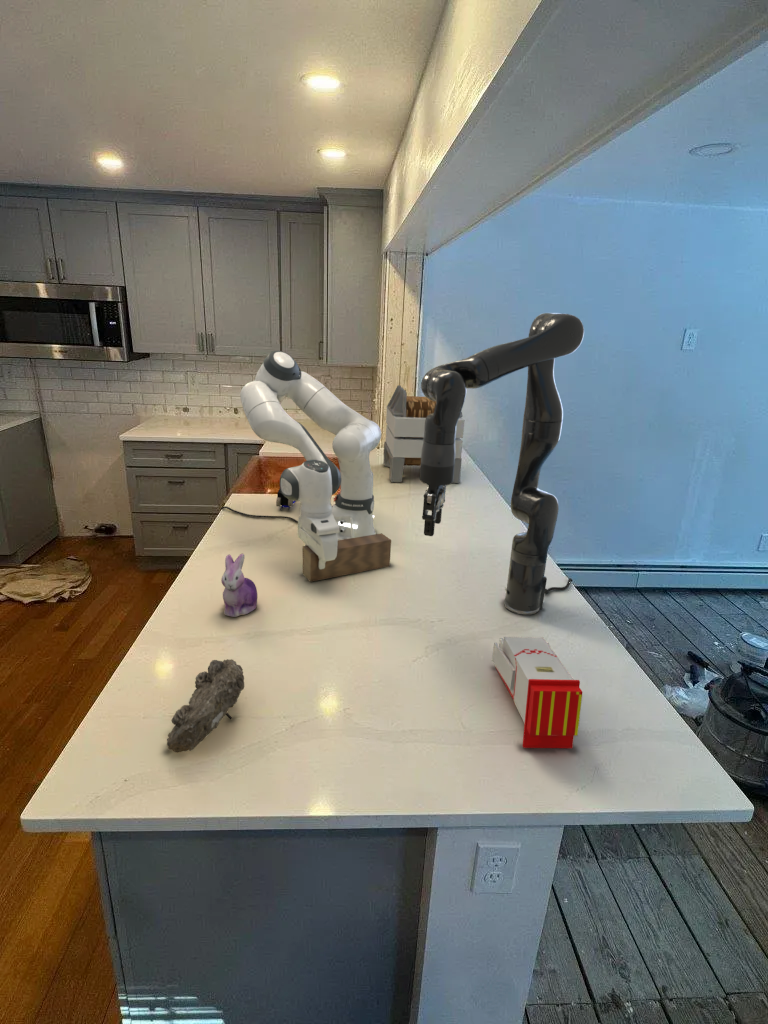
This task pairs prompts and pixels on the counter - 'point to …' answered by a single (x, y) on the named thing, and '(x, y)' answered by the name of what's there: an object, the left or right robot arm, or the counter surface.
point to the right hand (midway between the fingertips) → (432, 528)
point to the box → (349, 557)
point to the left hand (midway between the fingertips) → (315, 563)
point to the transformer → (412, 433)
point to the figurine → (237, 589)
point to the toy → (539, 691)
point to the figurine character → (283, 501)
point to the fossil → (206, 705)
